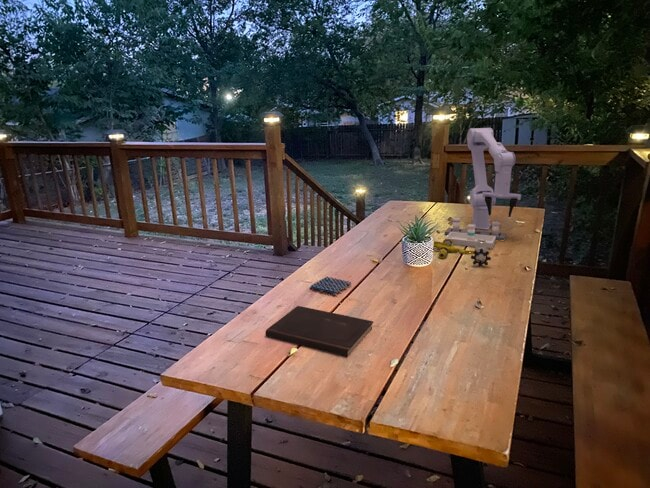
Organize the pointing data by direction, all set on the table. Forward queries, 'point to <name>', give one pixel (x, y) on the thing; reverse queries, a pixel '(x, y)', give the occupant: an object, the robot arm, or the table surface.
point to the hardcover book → (320, 330)
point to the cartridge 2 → (495, 228)
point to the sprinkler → (448, 248)
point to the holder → (500, 237)
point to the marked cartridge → (471, 232)
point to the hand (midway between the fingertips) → (499, 215)
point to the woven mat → (330, 286)
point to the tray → (462, 240)
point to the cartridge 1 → (456, 224)
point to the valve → (480, 253)
